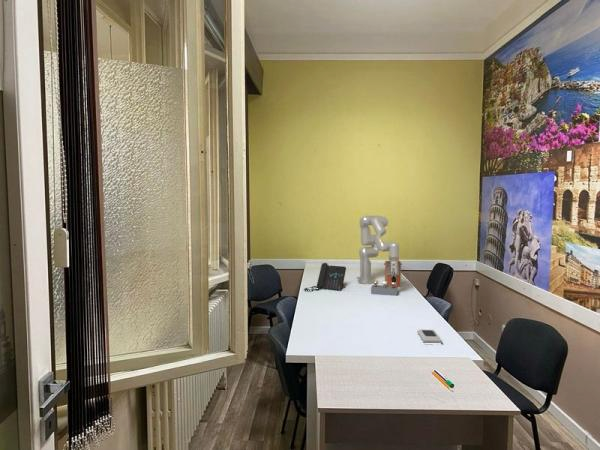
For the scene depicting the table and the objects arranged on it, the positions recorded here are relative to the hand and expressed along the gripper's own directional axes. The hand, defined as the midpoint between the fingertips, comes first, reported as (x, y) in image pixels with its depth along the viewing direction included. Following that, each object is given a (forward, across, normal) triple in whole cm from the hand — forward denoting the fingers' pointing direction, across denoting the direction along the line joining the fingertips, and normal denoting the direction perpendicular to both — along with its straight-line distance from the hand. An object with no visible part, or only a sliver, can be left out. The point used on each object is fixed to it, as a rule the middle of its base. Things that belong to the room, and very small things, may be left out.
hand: (393, 281), depth 312 cm
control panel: (+10, +25, +2) cm, 27 cm away
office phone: (+10, +2, +56) cm, 57 cm away
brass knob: (+5, 0, 0) cm, 5 cm away
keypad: (+11, -93, -24) cm, 96 cm away
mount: (+10, 0, +7) cm, 12 cm away
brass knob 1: (+5, 0, +14) cm, 15 cm away
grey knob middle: (+5, 0, +7) cm, 8 cm away
